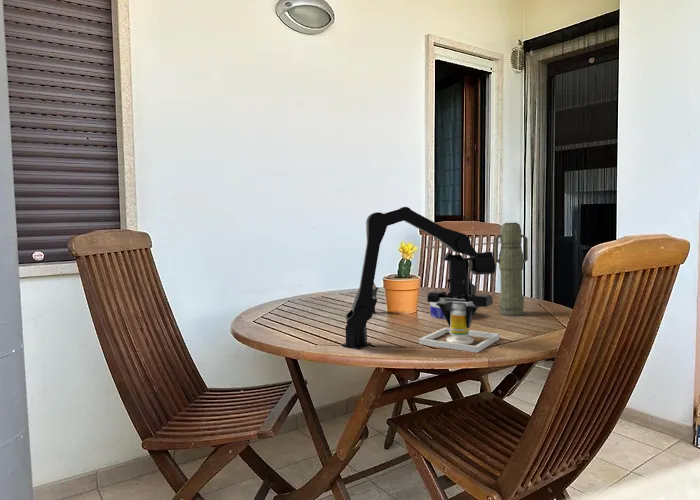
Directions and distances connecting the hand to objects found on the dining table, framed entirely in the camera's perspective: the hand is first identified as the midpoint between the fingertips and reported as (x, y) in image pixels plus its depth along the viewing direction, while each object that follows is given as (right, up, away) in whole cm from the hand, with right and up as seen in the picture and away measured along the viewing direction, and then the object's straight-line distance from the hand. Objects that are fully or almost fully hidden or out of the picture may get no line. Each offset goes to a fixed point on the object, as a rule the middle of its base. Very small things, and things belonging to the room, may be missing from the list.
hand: (459, 326), depth 142 cm
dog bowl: (+6, -3, +40) cm, 40 cm away
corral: (0, -4, 0) cm, 4 cm away
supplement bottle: (0, -3, 0) cm, 3 cm away
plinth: (0, -4, 0) cm, 4 cm away
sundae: (-24, -3, +49) cm, 55 cm away
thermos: (+29, -2, +40) cm, 49 cm away
